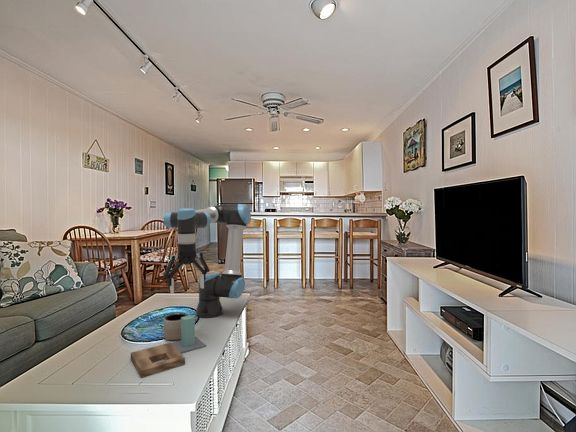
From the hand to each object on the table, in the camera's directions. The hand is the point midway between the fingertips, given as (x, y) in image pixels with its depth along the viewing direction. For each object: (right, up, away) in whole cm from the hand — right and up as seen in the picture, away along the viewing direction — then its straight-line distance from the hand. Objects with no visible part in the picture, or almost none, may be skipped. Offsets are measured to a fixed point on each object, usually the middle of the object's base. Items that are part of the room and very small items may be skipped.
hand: (187, 290), depth 141 cm
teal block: (0, -24, 0) cm, 24 cm away
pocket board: (-8, -25, -14) cm, 30 cm away
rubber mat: (0, -25, 0) cm, 25 cm away
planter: (-9, -25, +10) cm, 28 cm away
